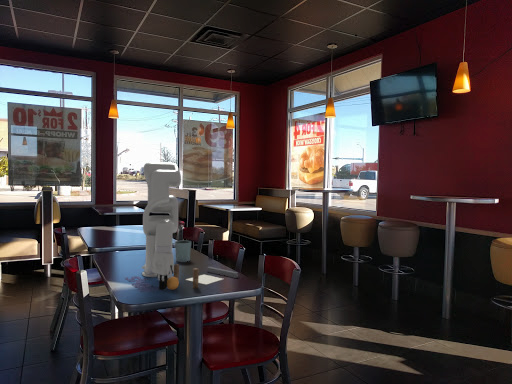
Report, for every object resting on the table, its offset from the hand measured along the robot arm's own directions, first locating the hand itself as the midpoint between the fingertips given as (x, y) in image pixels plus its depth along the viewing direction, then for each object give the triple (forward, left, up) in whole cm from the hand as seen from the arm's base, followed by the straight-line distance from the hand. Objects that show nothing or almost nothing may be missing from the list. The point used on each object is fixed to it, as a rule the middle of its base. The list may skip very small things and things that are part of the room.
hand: (162, 288), depth 176 cm
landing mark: (0, +28, -1) cm, 28 cm away
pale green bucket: (-41, +53, -2) cm, 67 cm away
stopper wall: (0, +42, -1) cm, 42 cm away
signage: (-18, +3, -2) cm, 18 cm away
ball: (+1, +5, +2) cm, 6 cm away
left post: (-6, +14, -1) cm, 16 cm away
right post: (+7, +14, -1) cm, 16 cm away
